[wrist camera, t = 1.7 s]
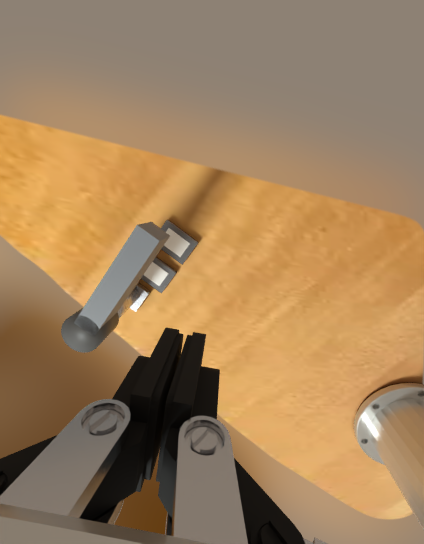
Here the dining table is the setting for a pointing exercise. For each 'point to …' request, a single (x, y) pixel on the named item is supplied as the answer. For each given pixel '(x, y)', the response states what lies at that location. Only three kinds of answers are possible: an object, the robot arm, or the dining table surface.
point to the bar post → (134, 299)
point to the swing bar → (114, 289)
